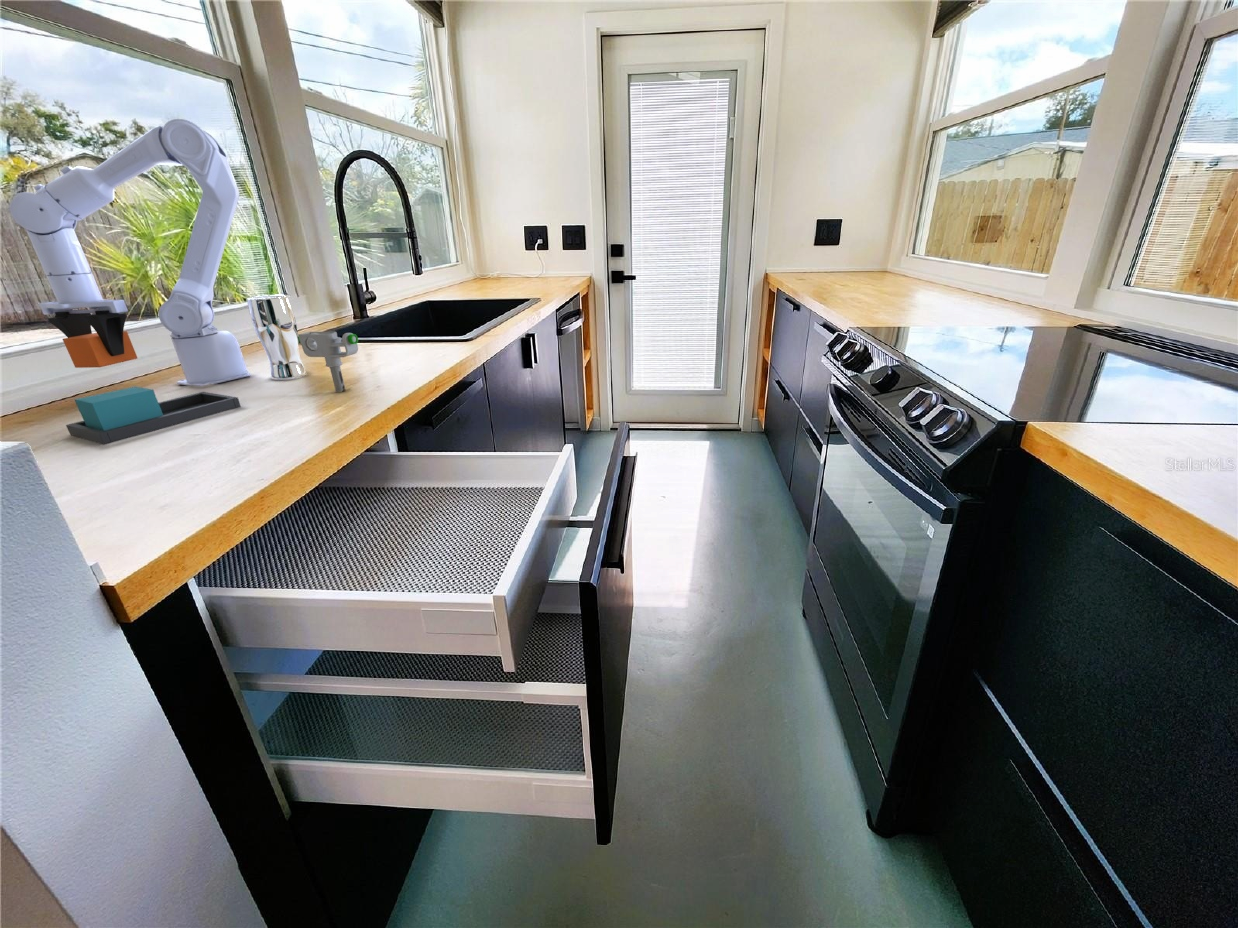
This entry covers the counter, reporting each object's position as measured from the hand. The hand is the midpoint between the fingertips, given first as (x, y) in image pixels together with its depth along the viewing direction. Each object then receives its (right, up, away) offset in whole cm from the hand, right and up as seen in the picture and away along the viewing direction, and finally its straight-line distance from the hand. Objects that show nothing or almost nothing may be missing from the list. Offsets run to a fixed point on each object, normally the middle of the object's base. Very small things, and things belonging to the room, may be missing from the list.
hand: (103, 355), depth 95 cm
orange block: (0, -1, +1) cm, 1 cm away
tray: (+24, -13, -16) cm, 32 cm away
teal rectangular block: (+22, -14, -19) cm, 33 cm away
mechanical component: (+44, -7, -2) cm, 44 cm away
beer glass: (+27, -2, +9) cm, 29 cm away
